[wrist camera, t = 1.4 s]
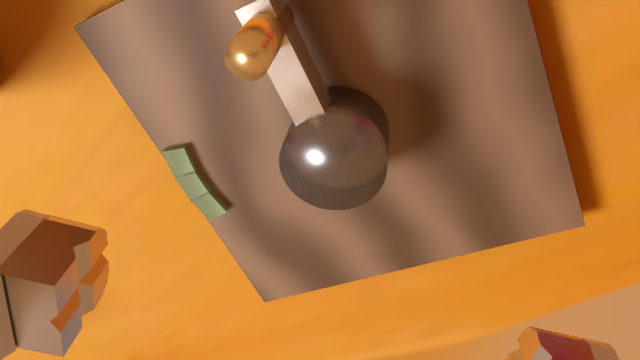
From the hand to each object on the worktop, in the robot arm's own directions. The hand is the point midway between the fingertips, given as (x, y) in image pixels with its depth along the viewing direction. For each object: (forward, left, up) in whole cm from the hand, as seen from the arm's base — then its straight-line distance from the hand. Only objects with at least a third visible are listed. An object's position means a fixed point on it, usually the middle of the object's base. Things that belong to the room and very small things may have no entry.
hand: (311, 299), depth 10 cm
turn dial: (+5, +3, -21) cm, 22 cm away
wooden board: (+5, +7, -23) cm, 24 cm away
